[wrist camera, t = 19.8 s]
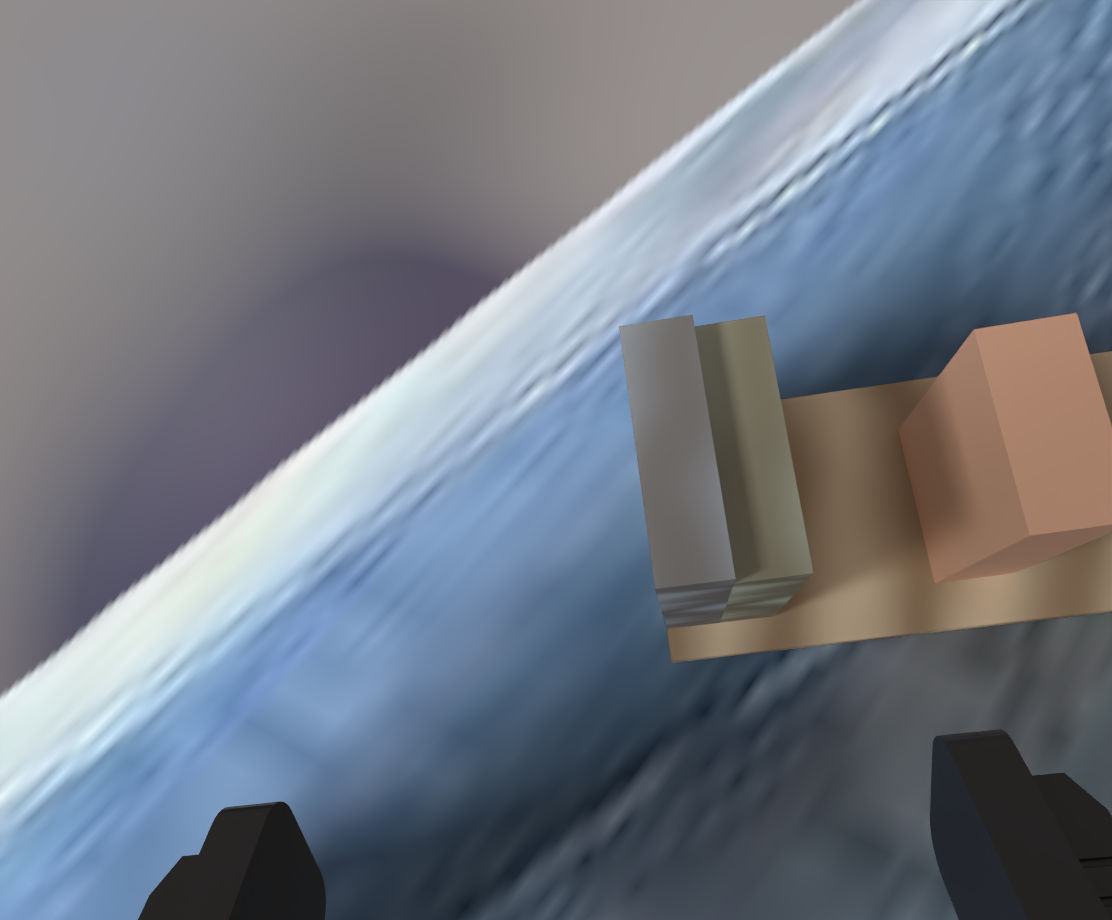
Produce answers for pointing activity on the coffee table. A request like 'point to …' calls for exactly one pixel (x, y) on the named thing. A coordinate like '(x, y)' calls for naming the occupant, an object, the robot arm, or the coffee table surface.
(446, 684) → the coffee table surface
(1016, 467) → the salmon orange rectangular block
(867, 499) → the shelf
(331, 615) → the coffee table surface
